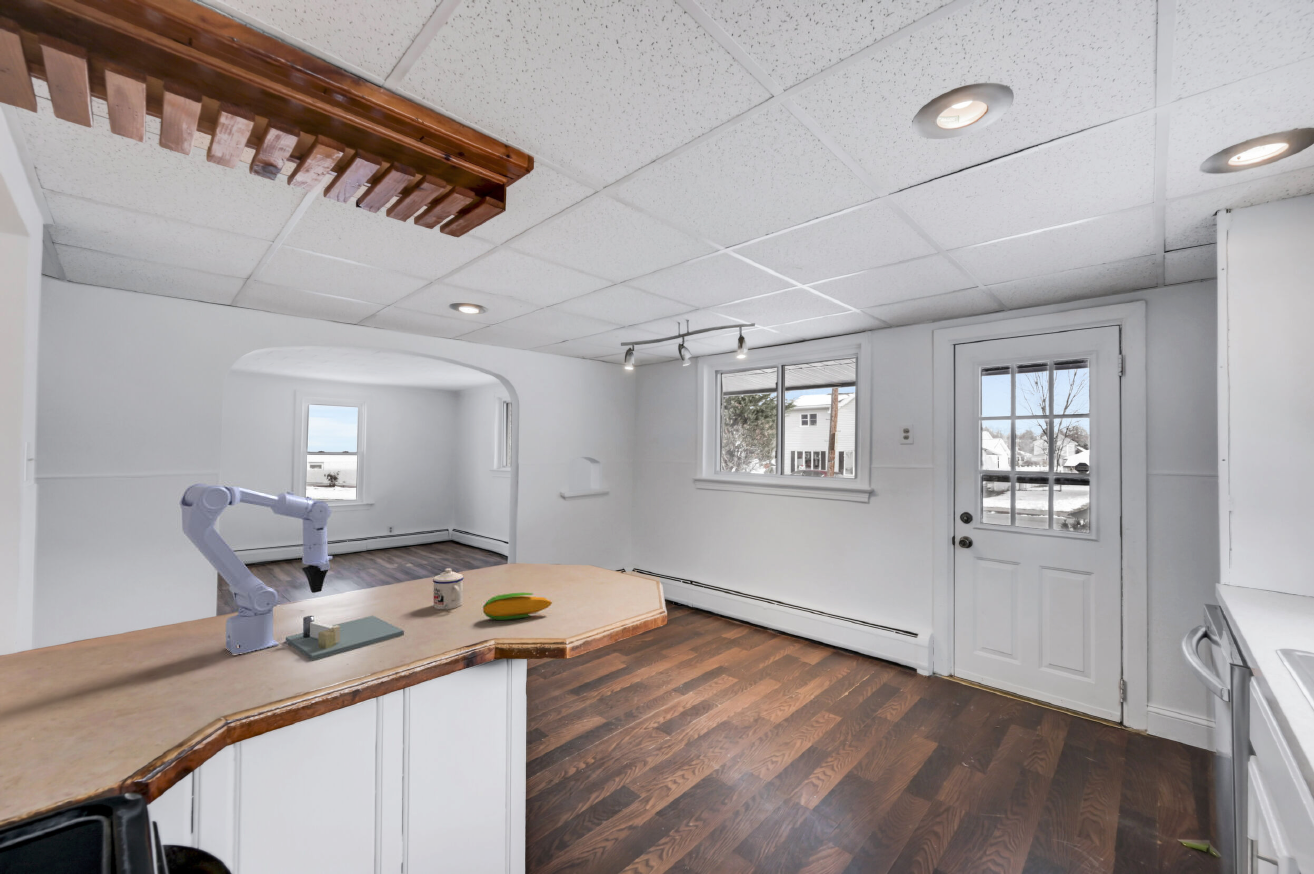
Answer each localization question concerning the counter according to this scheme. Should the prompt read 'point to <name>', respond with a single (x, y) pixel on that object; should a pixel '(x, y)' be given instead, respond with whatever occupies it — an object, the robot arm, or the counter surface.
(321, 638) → the gate posts
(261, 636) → the robot arm
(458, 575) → the teacup with lid
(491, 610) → the corn
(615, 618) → the counter surface
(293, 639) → the base board
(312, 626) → the gate
